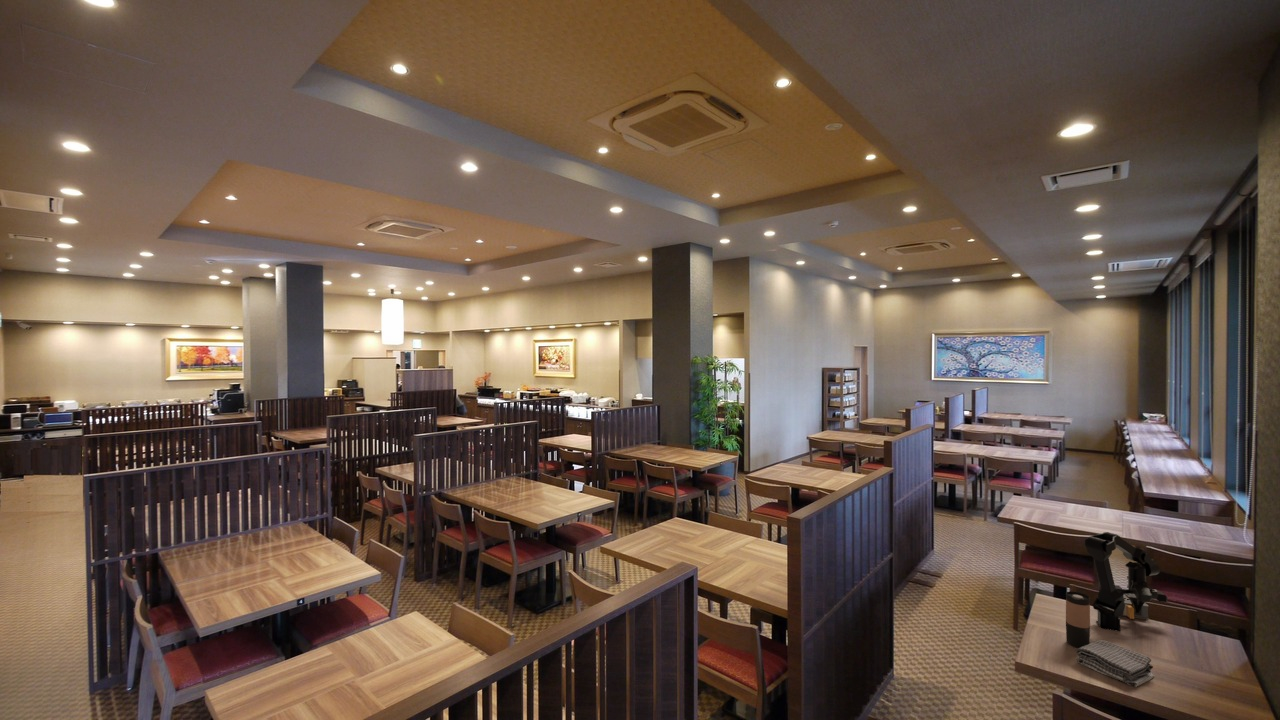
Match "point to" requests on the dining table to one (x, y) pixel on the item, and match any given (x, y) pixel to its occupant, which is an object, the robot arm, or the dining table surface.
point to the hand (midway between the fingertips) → (1136, 612)
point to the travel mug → (1077, 619)
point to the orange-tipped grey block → (1142, 613)
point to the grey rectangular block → (1127, 611)
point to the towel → (1116, 662)
